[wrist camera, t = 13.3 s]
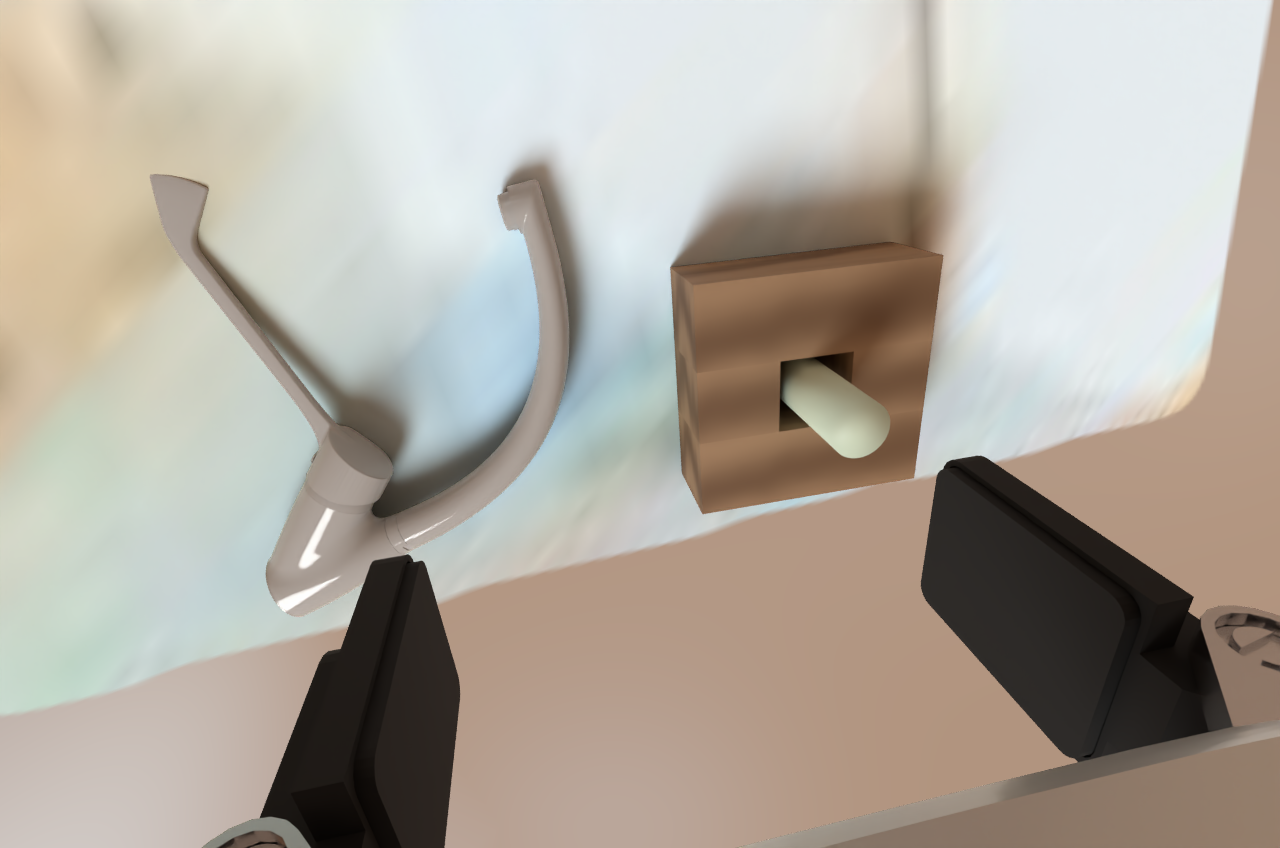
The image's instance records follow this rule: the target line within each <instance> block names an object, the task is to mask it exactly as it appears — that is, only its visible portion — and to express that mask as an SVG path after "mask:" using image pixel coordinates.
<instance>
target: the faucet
mask: <svg viewBox="0 0 1280 848" xmlns="http://www.w3.org/2000/svg"><path fill="white" fill-rule="evenodd" d="M150 181H151V185H152V189H153V193H154V197H155V201H156V204H157V208H158V212H159V215H160V219H161V223H162V226H163V229H164V231H165V233H166V235H167V237H168V239H169V241H170V242H171V244H172V246H173V247H174V249H175V250H176V252H177V253H178V255H179V256H180V257H181V259H182V260H183V261H184V263H185V264H186V265H187V266H188V268H189V269H190V270H191V271H192V273H193V274H194V275H195V277H196V278H197V279H198V280H199V282H200V283H201V284H202V285H203V287H204V288H205V289H206V290H207V292H208V293H209V294H210V296H211V297H212V298H213V299H214V301H215V302H216V303H217V304H218V306H219V307H220V308H221V309H222V311H223V312H224V313H225V314H226V316H227V317H228V318H229V320H230V321H231V322H232V323H233V325H234V326H235V327H236V328H237V330H238V331H239V332H240V333H241V335H242V336H243V337H244V339H245V340H246V341H247V342H248V344H249V345H250V346H251V347H252V349H253V350H254V351H255V352H256V354H257V355H258V356H259V358H260V359H261V360H262V361H263V363H264V364H265V365H266V366H267V368H268V369H269V370H270V371H271V373H272V374H273V375H274V376H275V378H276V379H277V380H278V382H279V383H280V384H281V385H282V387H283V388H284V389H285V390H286V392H287V393H288V394H289V395H290V397H291V398H292V399H293V401H294V402H295V403H296V405H297V406H298V408H299V409H300V410H301V412H302V413H303V415H304V416H305V418H306V419H307V421H308V422H309V424H310V426H311V427H312V429H313V431H314V433H315V435H316V437H317V440H318V443H319V450H318V451H317V452H316V453H315V454H314V455H313V457H312V460H311V462H312V464H311V466H310V468H309V470H308V472H307V474H306V480H305V482H304V484H303V486H302V488H301V490H300V492H299V494H298V496H297V498H296V500H295V502H294V505H293V507H292V509H291V511H290V513H289V515H288V518H287V520H286V522H285V524H284V527H283V529H282V531H281V534H280V536H279V538H278V541H277V543H276V546H275V548H274V551H273V553H272V556H271V557H270V559H269V561H268V563H267V566H266V581H267V585H268V589H269V591H270V594H271V596H272V598H273V599H274V601H275V602H276V604H277V605H278V606H279V607H280V608H281V609H282V610H283V611H284V612H286V613H287V614H289V615H292V616H295V617H302V616H305V615H307V614H309V613H311V612H313V611H315V610H318V609H319V608H321V607H323V606H325V605H327V604H329V603H331V602H333V601H335V600H336V599H338V598H340V597H342V596H344V595H345V594H347V593H349V592H350V591H352V590H354V589H355V588H357V587H359V586H360V585H362V584H363V583H364V582H365V579H366V576H367V573H368V570H369V567H370V565H371V563H372V562H373V561H374V560H379V559H385V558H390V557H396V556H402V555H405V554H406V553H408V552H410V551H412V550H414V549H416V548H418V547H420V546H422V545H424V544H426V543H428V542H430V541H432V540H434V539H436V538H437V537H439V536H441V535H443V534H445V533H446V532H448V531H450V530H452V529H453V528H455V527H457V526H458V525H460V524H462V523H463V522H465V521H466V520H468V519H469V518H471V517H472V516H474V515H475V514H476V513H478V512H479V511H480V510H482V509H483V508H484V507H486V506H487V505H488V504H490V503H491V502H492V501H493V500H494V499H496V498H497V497H498V496H499V495H500V494H501V493H502V492H503V491H505V490H506V489H507V488H508V487H509V486H510V485H511V484H512V483H513V482H514V481H515V480H516V479H517V477H518V476H519V475H520V474H521V473H522V472H523V471H524V469H525V468H526V467H527V466H528V464H529V463H530V462H531V460H532V459H533V458H534V456H535V455H536V453H537V452H538V450H539V449H540V447H541V445H542V444H543V442H544V440H545V438H546V437H547V435H548V433H549V431H550V429H551V426H552V424H553V422H554V419H555V417H556V414H557V411H558V409H559V405H560V402H561V399H562V395H563V391H564V386H565V381H566V376H567V368H568V359H569V315H568V304H567V296H566V289H565V283H564V277H563V272H562V267H561V262H560V258H559V254H558V249H557V245H556V242H555V238H554V234H553V230H552V227H551V223H550V220H549V216H548V213H547V209H546V206H545V202H544V199H543V195H542V192H541V188H540V185H539V182H538V181H537V180H535V179H534V180H529V181H526V182H522V183H518V184H514V185H510V186H507V191H508V192H504V193H503V194H500V195H498V197H497V200H498V204H499V208H500V211H501V215H502V218H503V221H504V224H505V226H506V228H507V230H509V231H510V230H517V229H519V230H520V233H521V234H523V235H524V238H525V241H526V245H527V249H528V252H529V256H530V260H531V264H532V269H533V274H534V279H535V285H536V291H537V299H538V309H539V350H538V359H537V366H536V371H535V376H534V380H533V383H532V387H531V390H530V393H529V396H528V399H527V401H526V404H525V406H524V408H523V410H522V412H521V414H520V416H519V418H518V420H517V421H516V423H515V425H514V426H513V428H512V429H511V431H510V432H509V434H508V435H507V437H506V438H505V439H504V441H503V442H502V443H501V444H500V445H499V447H498V448H497V449H496V450H495V451H494V452H493V453H492V454H491V455H490V456H489V457H488V458H487V459H486V460H485V461H484V462H483V463H482V464H481V465H479V466H478V467H477V468H476V469H475V470H473V471H472V472H471V473H470V474H468V475H467V476H466V477H464V478H463V479H461V480H460V481H459V482H457V483H456V484H454V485H452V486H451V487H449V488H448V489H446V490H444V491H442V492H441V493H439V494H437V495H435V496H433V497H431V498H429V499H427V500H425V501H423V502H421V503H419V504H417V505H415V506H413V507H410V508H408V509H406V510H403V511H401V512H399V513H396V514H393V515H391V516H388V517H383V518H378V517H376V516H374V515H373V513H372V507H373V504H374V502H376V501H377V500H379V499H380V497H381V496H382V494H383V492H384V490H385V488H386V486H387V484H388V482H389V480H390V478H391V476H392V474H393V465H392V463H391V461H390V459H389V457H388V456H387V454H386V453H385V452H384V451H383V450H382V449H380V448H379V447H378V446H377V445H375V444H374V443H373V442H371V441H370V440H369V439H367V438H366V437H364V436H363V435H361V434H360V433H359V432H357V431H356V430H354V429H352V428H350V427H347V426H342V425H337V424H336V423H335V422H334V421H333V419H332V418H331V417H330V416H329V415H328V414H327V413H326V412H325V410H324V409H323V408H322V407H321V406H320V405H319V403H318V402H317V401H316V400H315V398H314V397H313V396H312V395H311V393H310V392H309V391H308V390H307V388H306V387H305V386H304V384H303V383H302V382H301V381H300V379H299V378H298V377H297V375H296V374H295V373H294V371H293V370H292V369H291V368H290V366H289V365H288V364H287V362H286V361H285V360H284V359H283V357H282V356H281V355H280V353H279V352H278V351H277V350H276V348H275V347H274V346H273V344H272V343H271V342H270V341H269V339H268V338H267V337H266V335H265V334H264V333H263V331H262V330H261V329H260V328H259V326H258V325H257V324H256V322H255V321H254V320H253V319H252V317H251V316H250V315H249V313H248V312H247V311H246V310H245V308H244V307H243V306H242V304H241V303H240V302H239V301H238V299H237V298H236V297H235V295H234V294H233V293H232V291H231V290H230V289H229V288H228V286H227V285H226V284H225V282H224V281H223V280H222V279H221V277H220V276H219V275H218V273H217V272H216V271H215V270H214V268H213V267H212V266H211V264H210V263H209V262H208V261H207V259H206V258H205V257H204V255H203V254H202V252H201V251H200V249H199V246H198V242H197V233H198V228H199V224H200V221H201V217H202V213H203V210H204V206H205V202H206V198H207V195H208V188H207V187H205V186H203V185H201V184H198V183H196V182H193V181H191V180H188V179H184V178H180V177H176V176H170V175H159V174H153V175H150Z"/></svg>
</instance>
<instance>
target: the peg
mask: <svg viewBox="0 0 1280 848" xmlns="http://www.w3.org/2000/svg"><path fill="white" fill-rule="evenodd" d="M780 399H781V400H782V401H783V402H785V403H786V404H787V405H788V406H789V407H790V408H791V409H792V410H793V411H794V412H795V413H796V414H797V415H798V416H799V417H801V418H802V419H803V420H804V421H805V422H806V423H807V424H808V425H809V426H810V427H811V428H812V429H813V430H814V431H815V432H817V433H818V434H819V435H820V436H821V437H822V438H823V439H824V440H825V441H826V442H827V443H828V444H829V445H830V446H832V447H833V448H834V449H835V450H836V451H837V452H838V453H839V454H840V455H842V456H844V457H847V458H861V457H864V456H867V455H869V454H871V453H872V452H874V451H875V450H876V449H878V448H879V447H880V446H881V444H882V443H883V442H884V441H885V439H886V437H887V435H888V433H889V429H890V416H889V414H888V411H887V410H886V409H885V407H884V406H882V405H881V404H880V403H878V402H877V401H875V400H874V399H872V398H871V397H870V396H868V395H867V394H865V393H864V392H862V391H861V390H859V389H858V388H857V387H855V386H854V385H852V384H851V383H849V382H848V381H847V380H845V379H844V378H842V377H841V376H839V375H838V374H836V373H835V372H834V371H832V370H831V369H829V368H828V367H826V366H825V365H824V364H822V363H821V362H819V361H818V360H816V359H815V358H813V357H810V358H802V359H795V360H788V361H781V363H780Z"/></svg>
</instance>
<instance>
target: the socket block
mask: <svg viewBox="0 0 1280 848" xmlns="http://www.w3.org/2000/svg"><path fill="white" fill-rule="evenodd" d="M942 262H943V255H940V254H936V253H932V252H928V251H924V250H920V249H917V248H913V247H909V246H905V245H901V244H897V243H893V242H885V243H876V244H868V245H859V246H851V247H842V248H833V249H825V250H816V251H807V252H799V253H790V254H781V255H773V256H764V257H755V258H747V259H738V260H729V261H721V262H712V263H704V264H695V265H686V266H678V267H670V270H671V287H672V305H673V323H674V340H675V358H676V376H677V394H678V411H679V429H680V447H681V465H682V474H683V476H684V478H685V480H686V482H687V484H688V486H689V488H690V490H691V492H692V494H693V496H694V498H695V500H696V502H697V504H698V506H699V508H700V510H701V512H702V514H706V513H712V512H718V511H724V510H730V509H736V508H741V507H747V506H753V505H759V504H765V503H771V502H777V501H782V500H788V499H794V498H800V497H806V496H812V495H818V494H823V493H829V492H835V491H841V490H847V489H853V488H859V487H864V486H870V485H876V484H882V483H888V482H894V481H900V480H905V479H911V478H914V474H915V466H916V459H917V451H918V443H919V436H920V428H921V421H922V413H923V406H924V398H925V390H926V383H927V375H928V368H929V360H930V353H931V345H932V337H933V330H934V322H935V315H936V307H937V300H938V292H939V284H940V277H941V269H942ZM810 357H813V358H815V359H816V360H818V361H819V362H821V363H822V364H824V365H825V366H826V367H828V368H829V369H831V370H832V371H834V372H835V373H836V374H838V375H839V376H841V377H842V378H844V379H845V380H847V381H848V382H849V383H851V384H852V385H854V386H855V387H857V388H858V389H859V390H861V391H862V392H864V393H865V394H867V395H868V396H870V397H871V398H872V399H874V400H875V401H877V402H878V403H880V404H881V405H882V406H884V407H885V409H886V410H887V411H888V414H889V416H890V429H889V433H888V435H887V437H886V439H885V441H884V442H883V443H882V444H881V446H880V447H879V448H878V449H876V450H875V451H874V452H872V453H871V454H869V455H867V456H864V457H861V458H847V457H844V456H842V455H840V454H839V453H838V452H837V451H836V450H835V449H834V448H833V447H832V446H830V445H829V444H828V443H827V442H826V441H825V440H824V439H823V438H822V437H821V436H820V435H819V434H818V433H817V432H815V431H814V430H813V429H812V428H811V427H810V426H809V425H808V424H807V423H806V422H805V421H804V420H803V419H802V418H801V417H799V416H798V415H797V414H796V413H795V412H794V411H793V410H792V409H791V408H790V407H789V406H788V405H787V404H786V403H785V402H783V401H782V400H781V399H780V363H781V361H788V360H795V359H802V358H810Z"/></svg>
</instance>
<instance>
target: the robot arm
mask: <svg viewBox="0 0 1280 848" xmlns="http://www.w3.org/2000/svg"><path fill="white" fill-rule="evenodd" d="M921 589H922V592H923V595H924V597H925V599H926V601H927V602H928V604H929V605H930V606H931V607H932V608H933V609H934V610H935V611H936V613H937V614H938V615H939V616H940V617H941V618H942V619H943V620H944V622H945V623H946V624H947V625H948V626H949V627H950V628H951V629H952V630H953V632H955V634H956V635H957V636H958V637H959V638H960V639H961V641H962V642H963V643H964V644H965V645H966V646H967V647H968V648H969V650H970V651H971V652H972V653H973V654H974V655H975V656H976V657H977V658H978V659H979V661H980V662H981V663H982V664H983V665H984V666H985V667H986V668H987V670H988V671H990V673H991V674H992V675H993V676H994V677H995V678H996V679H997V681H998V682H999V683H1000V684H1001V685H1002V686H1003V688H1004V689H1005V690H1006V691H1007V692H1008V693H1009V694H1010V695H1011V696H1012V698H1013V699H1014V700H1015V701H1016V702H1017V703H1018V704H1019V705H1020V707H1021V708H1022V709H1023V710H1024V711H1025V712H1026V713H1027V714H1028V715H1029V717H1030V718H1031V719H1032V720H1033V721H1034V722H1035V723H1036V724H1037V726H1038V727H1039V728H1040V729H1041V730H1042V731H1043V732H1044V733H1045V735H1046V736H1047V737H1048V738H1049V739H1050V740H1051V741H1052V742H1053V743H1054V745H1055V746H1056V747H1057V748H1058V749H1059V750H1060V751H1061V752H1062V753H1063V754H1065V755H1066V756H1068V757H1071V758H1075V759H1076V760H1077V761H1078V763H1074V764H1070V765H1066V766H1062V767H1058V768H1053V769H1049V770H1045V771H1041V772H1037V773H1033V774H1029V775H1025V776H1021V777H1016V778H1013V779H1009V780H1004V781H1000V782H996V783H992V784H988V785H984V786H980V787H976V788H972V789H968V790H964V791H960V792H956V793H952V794H948V795H944V796H940V797H936V798H932V799H928V800H924V801H919V802H916V803H911V804H907V805H903V806H899V807H896V808H892V809H887V810H883V811H879V812H876V813H872V814H868V815H864V816H860V817H856V818H852V819H848V820H844V821H840V822H836V823H832V824H828V825H824V826H820V827H816V828H812V829H808V830H804V831H800V832H796V833H793V834H788V835H784V836H780V837H776V838H772V839H769V840H765V841H761V842H757V843H753V844H749V845H745V846H741V847H737V848H1280V616H1278V615H1276V614H1273V613H1269V612H1265V611H1262V610H1259V609H1255V608H1248V607H1242V606H1218V607H1214V608H1211V609H1208V610H1206V612H1205V613H1204V614H1203V615H1202V616H1201V618H1200V620H1199V619H1198V618H1196V617H1195V616H1193V615H1192V614H1190V613H1189V612H1188V610H1189V608H1190V605H1191V603H1192V600H1193V598H1194V597H1193V596H1192V595H1190V594H1189V593H1187V592H1186V591H1184V590H1183V589H1181V588H1180V587H1178V586H1177V585H1175V584H1174V583H1172V582H1171V581H1169V580H1168V579H1166V578H1165V577H1163V576H1162V575H1160V574H1159V573H1157V572H1156V571H1154V570H1153V569H1151V568H1150V567H1148V566H1147V565H1145V564H1144V563H1142V562H1141V561H1139V560H1138V559H1137V558H1135V557H1134V556H1132V555H1130V554H1129V553H1128V552H1126V551H1125V550H1123V549H1122V548H1120V547H1119V546H1117V545H1116V544H1114V543H1113V542H1111V541H1110V540H1108V539H1107V538H1105V537H1103V536H1102V535H1101V534H1099V533H1097V532H1096V531H1095V530H1093V529H1092V528H1090V527H1089V526H1087V525H1086V524H1084V523H1083V522H1081V521H1080V520H1078V519H1077V518H1075V517H1074V516H1072V515H1071V514H1069V513H1068V512H1066V511H1065V510H1063V509H1062V508H1060V507H1059V506H1057V505H1056V504H1054V503H1053V502H1051V501H1050V500H1048V499H1047V498H1045V497H1044V496H1042V495H1041V494H1039V493H1038V492H1036V491H1035V490H1033V489H1032V488H1030V487H1029V486H1028V485H1026V484H1024V483H1023V482H1021V481H1020V480H1019V479H1017V478H1016V477H1014V476H1013V475H1011V474H1010V473H1008V472H1006V471H1005V470H1004V469H1002V468H1001V467H999V466H998V465H996V464H995V463H993V462H992V461H990V460H989V459H987V458H985V457H983V456H973V457H967V458H961V459H955V460H951V461H949V462H947V463H946V465H945V466H944V469H943V470H941V471H940V472H939V473H938V475H937V479H936V486H935V492H934V499H933V506H932V512H931V519H930V525H929V533H928V539H927V546H926V552H925V560H924V565H923V572H922V579H921ZM459 702H460V685H459V678H458V674H457V670H456V667H455V663H454V660H453V657H452V654H451V650H450V646H449V643H448V640H447V636H446V633H445V630H444V626H443V623H442V619H441V616H440V613H439V609H438V606H437V602H436V599H435V596H434V592H433V589H432V585H431V582H430V579H429V575H428V572H427V568H426V566H425V563H424V562H423V561H418V562H413V559H412V558H411V556H410V555H402V556H396V557H390V558H385V559H379V560H374V561H373V562H372V563H371V565H370V567H369V570H368V573H367V576H366V579H365V582H364V584H363V587H362V590H361V593H360V596H359V599H358V602H357V604H356V607H355V610H354V613H353V616H352V619H351V622H350V624H349V627H348V630H347V633H346V636H345V639H344V642H343V644H342V647H341V649H338V650H333V651H328V652H327V653H326V654H325V655H323V657H322V659H321V661H320V662H319V664H318V667H317V670H316V672H315V675H314V678H313V680H312V683H311V686H310V688H309V691H308V693H307V696H306V698H305V701H304V704H303V706H302V709H301V712H300V714H299V717H298V719H297V722H296V725H295V727H294V730H293V733H292V735H291V738H290V740H289V743H288V745H287V748H286V751H285V753H284V756H283V758H282V761H281V764H280V766H279V769H278V772H277V774H276V777H275V779H274V782H273V785H272V787H271V790H270V793H269V795H268V798H267V800H266V803H265V806H264V808H263V811H262V813H261V816H260V818H259V819H252V820H249V821H247V822H245V823H242V824H239V825H237V826H234V827H232V828H230V829H228V830H226V831H225V832H223V833H222V834H220V835H219V836H217V837H216V838H214V839H213V840H211V841H210V842H208V843H207V844H206V845H204V846H203V847H202V848H444V846H445V836H446V826H447V817H448V807H449V798H450V787H451V778H452V769H453V760H454V749H455V740H456V731H457V721H458V711H459Z"/></svg>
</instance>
